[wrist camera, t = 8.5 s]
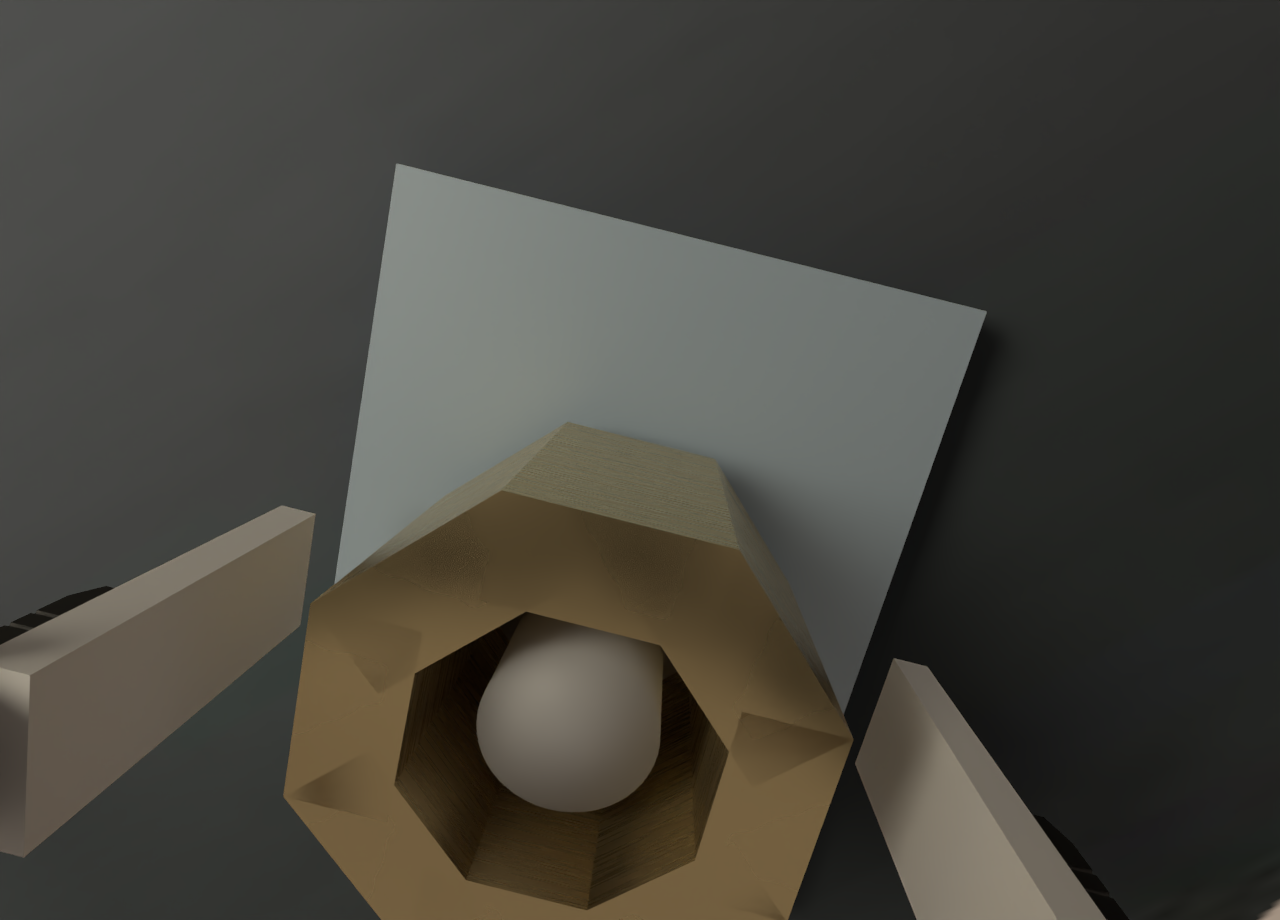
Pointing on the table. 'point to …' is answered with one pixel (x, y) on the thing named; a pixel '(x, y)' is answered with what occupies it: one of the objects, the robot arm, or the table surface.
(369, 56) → the table surface
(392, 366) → the stand
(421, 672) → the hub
